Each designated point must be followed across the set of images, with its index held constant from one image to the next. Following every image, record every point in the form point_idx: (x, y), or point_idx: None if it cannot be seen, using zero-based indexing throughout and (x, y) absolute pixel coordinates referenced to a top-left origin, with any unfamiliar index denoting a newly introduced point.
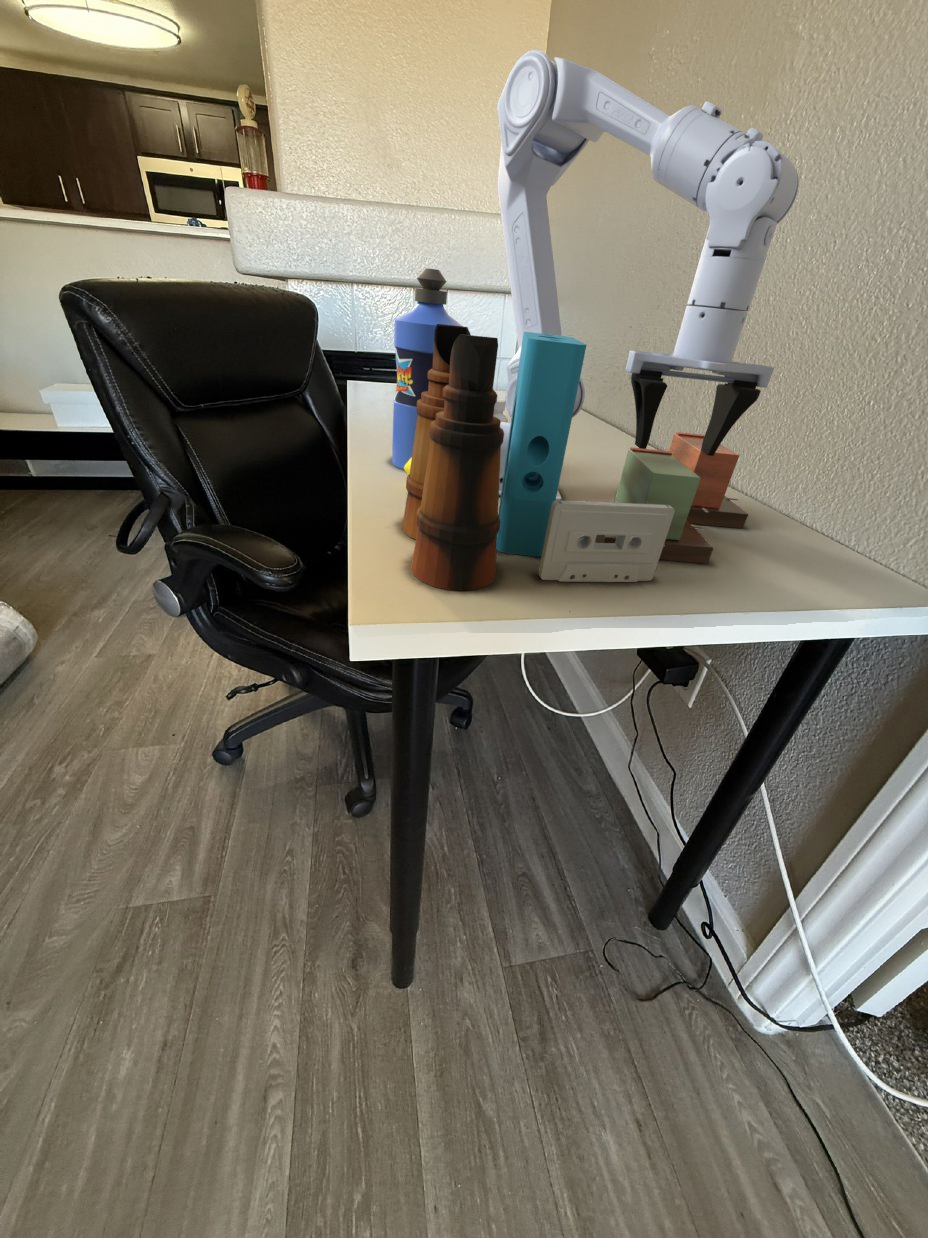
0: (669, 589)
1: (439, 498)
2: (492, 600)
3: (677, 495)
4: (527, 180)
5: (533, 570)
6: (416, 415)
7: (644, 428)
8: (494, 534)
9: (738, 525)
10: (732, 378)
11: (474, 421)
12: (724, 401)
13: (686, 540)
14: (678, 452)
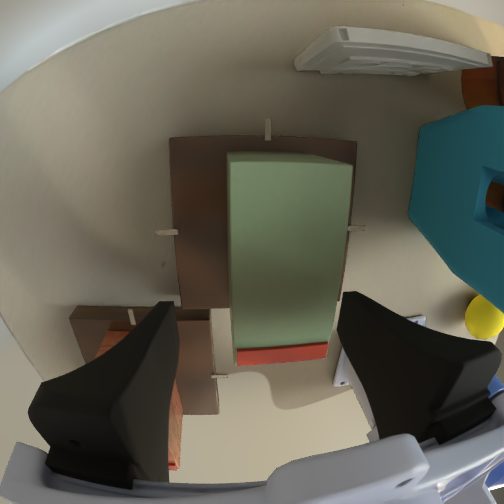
0: (273, 41)
1: None
2: (460, 36)
3: (269, 157)
4: None
5: (431, 88)
6: (497, 383)
7: (386, 308)
8: (501, 64)
9: (82, 307)
10: (141, 494)
11: None
12: (150, 426)
13: (211, 157)
14: (173, 432)
